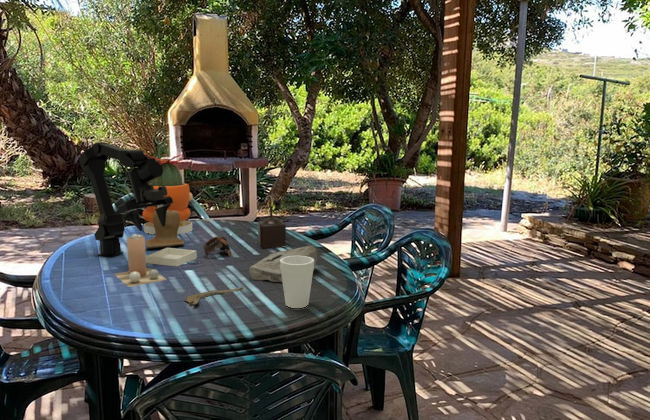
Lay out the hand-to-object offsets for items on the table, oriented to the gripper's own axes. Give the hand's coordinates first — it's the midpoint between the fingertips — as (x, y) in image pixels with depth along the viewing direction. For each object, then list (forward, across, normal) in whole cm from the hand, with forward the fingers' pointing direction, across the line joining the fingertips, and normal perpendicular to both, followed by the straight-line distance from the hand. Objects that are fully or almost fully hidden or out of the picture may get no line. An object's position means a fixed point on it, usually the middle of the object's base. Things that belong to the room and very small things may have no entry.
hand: (152, 228), depth 172 cm
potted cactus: (-1, +38, +43) cm, 58 cm away
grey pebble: (+16, -10, -7) cm, 20 cm away
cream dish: (+13, +8, +5) cm, 16 cm away
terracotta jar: (+14, -10, 0) cm, 18 cm away
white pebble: (+16, -16, -5) cm, 23 cm away
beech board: (+15, -11, -2) cm, 19 cm away
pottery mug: (+15, +24, -1) cm, 29 cm away
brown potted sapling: (+17, +50, -6) cm, 53 cm away
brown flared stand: (+6, +20, +24) cm, 32 cm away
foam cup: (+35, -1, -54) cm, 64 cm away
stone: (+28, +20, -35) cm, 49 cm away
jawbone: (+27, -10, -33) cm, 44 cm away
